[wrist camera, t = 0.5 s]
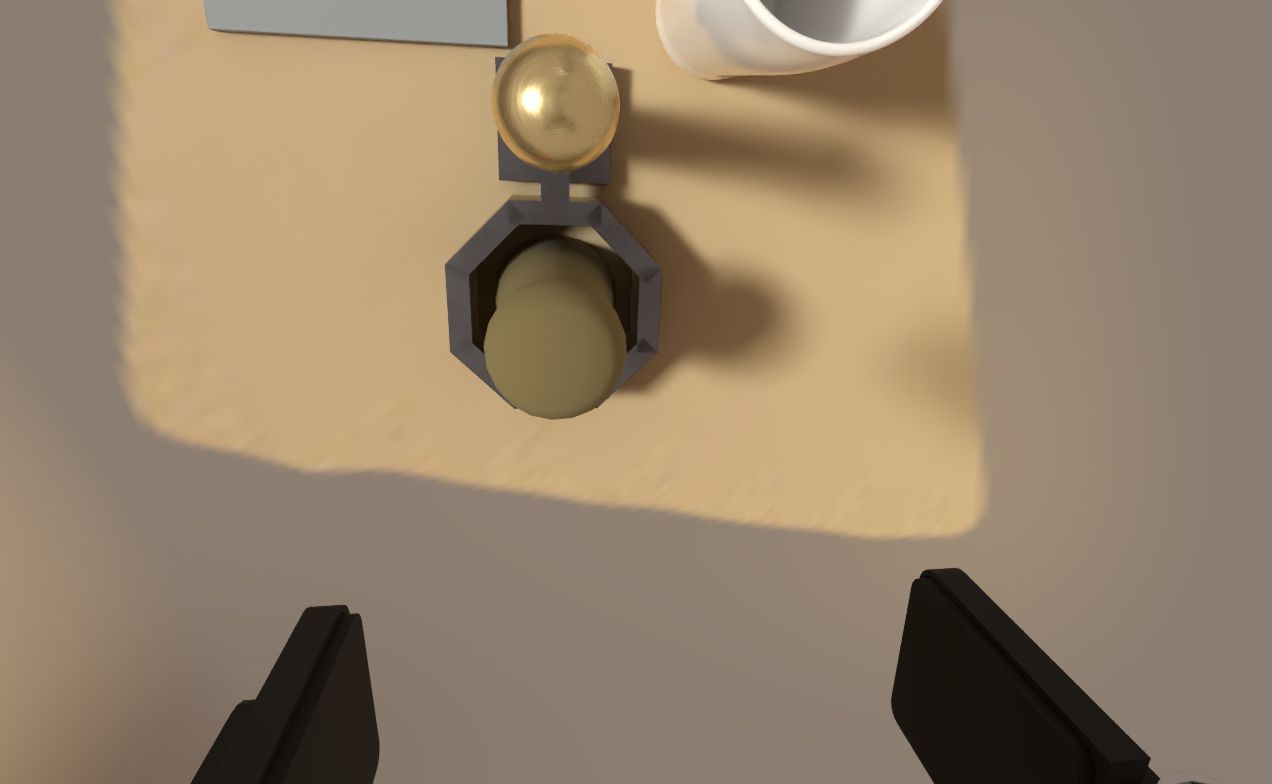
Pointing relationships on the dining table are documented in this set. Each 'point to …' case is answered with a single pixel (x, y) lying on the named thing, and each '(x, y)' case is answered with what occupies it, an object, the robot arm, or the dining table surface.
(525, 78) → the ring stand
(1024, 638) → the robot arm
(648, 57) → the dining table surface
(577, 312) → the olive rounded tall piece
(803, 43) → the drinking glass
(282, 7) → the mat
